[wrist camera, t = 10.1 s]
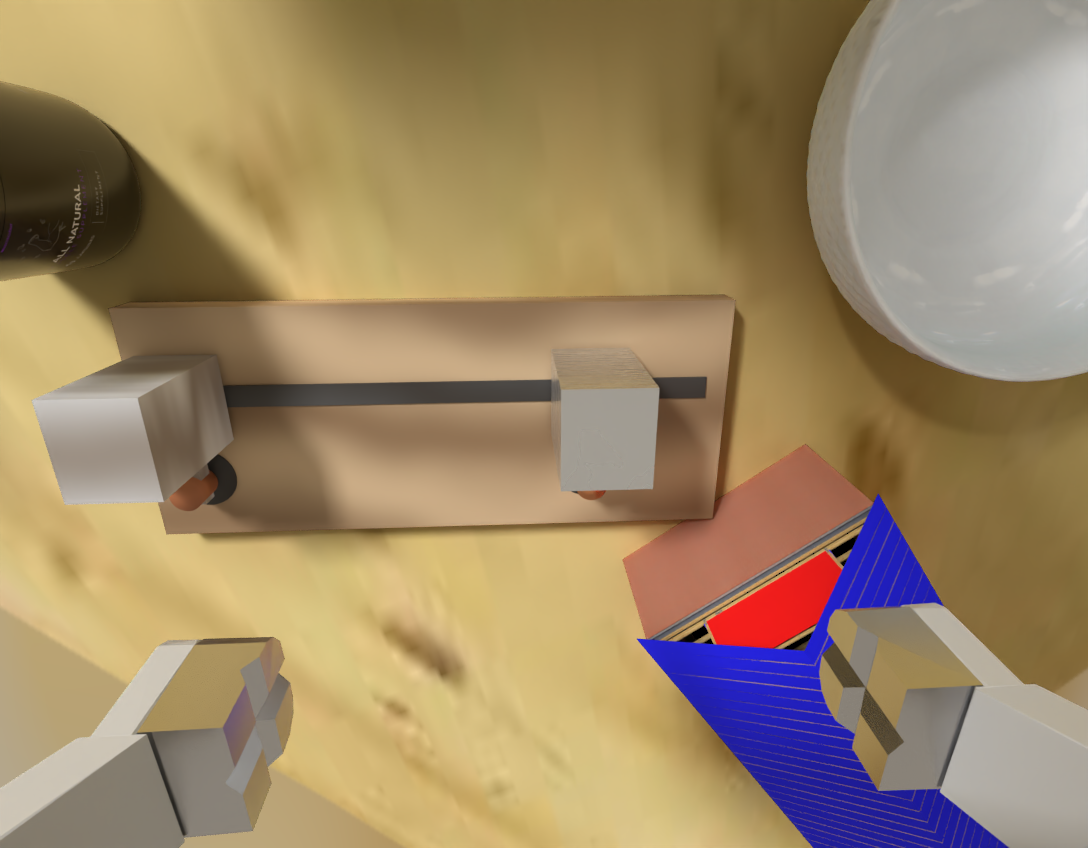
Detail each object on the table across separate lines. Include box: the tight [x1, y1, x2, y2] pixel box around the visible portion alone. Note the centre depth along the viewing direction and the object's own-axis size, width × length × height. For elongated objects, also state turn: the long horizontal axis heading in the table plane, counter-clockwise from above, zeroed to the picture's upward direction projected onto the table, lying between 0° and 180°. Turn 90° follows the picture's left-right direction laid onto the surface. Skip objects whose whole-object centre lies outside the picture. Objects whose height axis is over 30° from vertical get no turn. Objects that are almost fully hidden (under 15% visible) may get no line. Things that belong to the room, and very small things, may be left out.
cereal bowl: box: [806, 0, 1088, 382], centre depth 24 cm, size 17×17×7 cm
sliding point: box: [551, 348, 659, 500], centre depth 26 cm, size 7×4×6 cm, turn 0°
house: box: [623, 444, 1009, 848], centre depth 30 cm, size 12×20×12 cm, turn 36°
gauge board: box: [32, 295, 736, 534], centre depth 26 cm, size 11×27×8 cm, turn 90°
